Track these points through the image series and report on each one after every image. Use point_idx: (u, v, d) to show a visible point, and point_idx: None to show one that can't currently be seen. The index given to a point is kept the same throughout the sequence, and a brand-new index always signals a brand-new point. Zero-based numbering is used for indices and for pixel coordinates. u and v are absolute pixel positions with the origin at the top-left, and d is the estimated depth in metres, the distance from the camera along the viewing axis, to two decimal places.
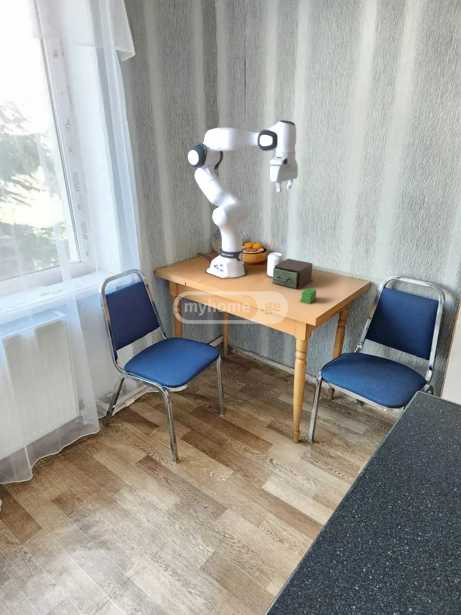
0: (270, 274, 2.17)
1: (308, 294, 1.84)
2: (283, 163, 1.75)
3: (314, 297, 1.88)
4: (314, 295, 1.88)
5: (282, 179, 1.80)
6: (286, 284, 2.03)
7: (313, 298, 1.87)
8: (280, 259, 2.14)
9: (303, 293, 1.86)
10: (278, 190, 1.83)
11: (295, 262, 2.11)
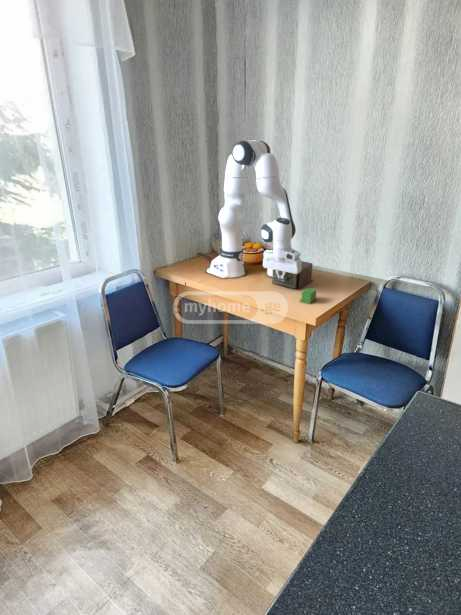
0: (270, 274, 2.17)
1: (308, 294, 1.84)
2: None
3: (314, 297, 1.88)
4: (314, 295, 1.88)
5: None
6: (285, 284, 2.03)
7: (313, 298, 1.87)
8: None
9: (303, 293, 1.86)
10: (283, 277, 1.98)
11: None
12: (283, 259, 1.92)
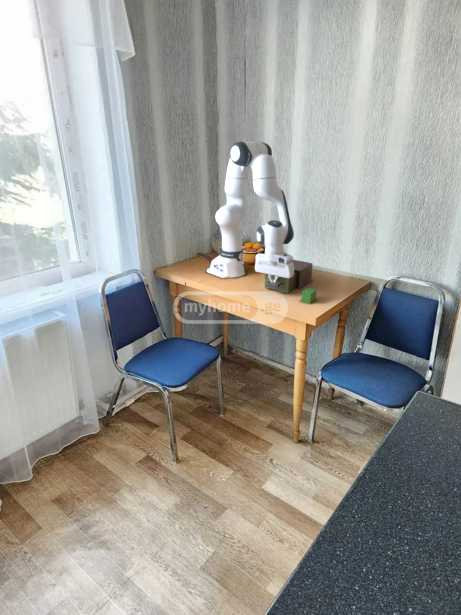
0: None
1: (308, 294, 1.84)
2: None
3: (314, 297, 1.88)
4: (314, 295, 1.88)
5: None
6: (278, 289, 1.97)
7: (313, 298, 1.87)
8: None
9: (303, 293, 1.86)
10: (276, 282, 1.93)
11: (295, 262, 2.11)
12: (275, 263, 1.86)
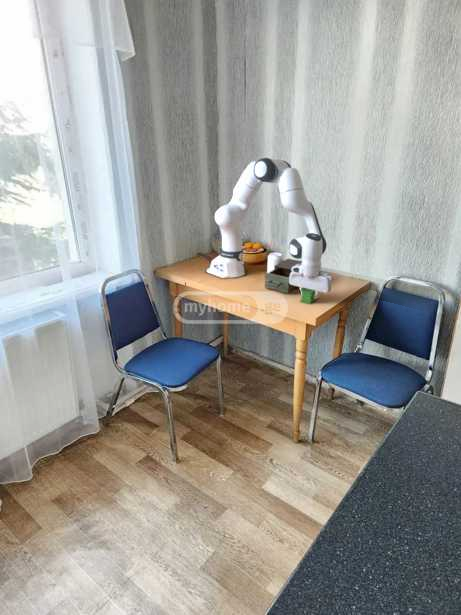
0: None
1: (308, 294, 1.84)
2: (293, 270, 1.84)
3: None
4: None
5: (297, 284, 1.87)
6: (278, 289, 1.97)
7: None
8: (280, 259, 2.14)
9: (303, 293, 1.86)
10: None
11: (295, 262, 2.11)
12: None
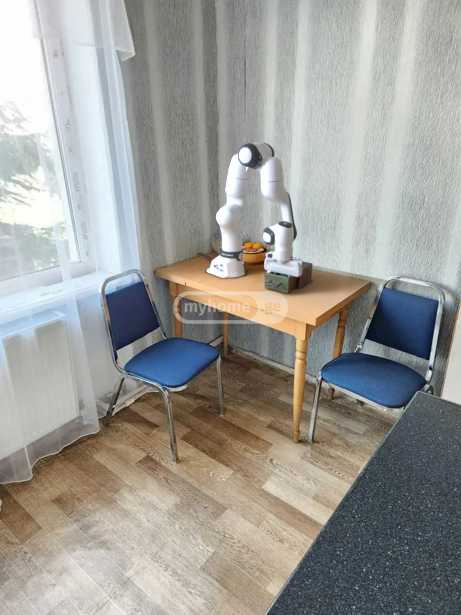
0: None
1: None
2: (267, 256, 1.98)
3: None
4: None
5: (272, 269, 2.01)
6: (278, 289, 1.97)
7: None
8: None
9: None
10: None
11: None
12: None
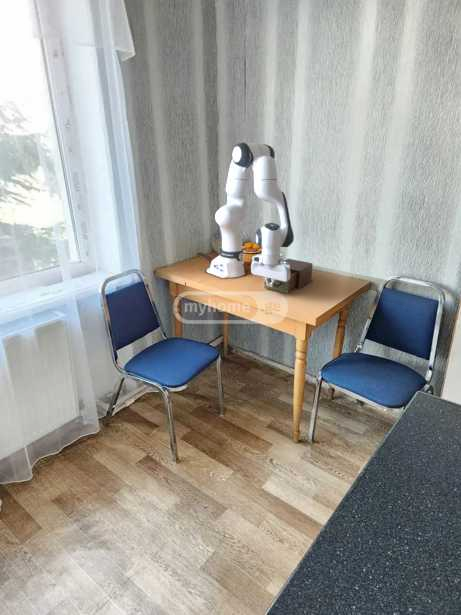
0: None
1: None
2: (254, 259, 1.89)
3: None
4: None
5: (259, 274, 1.91)
6: (278, 289, 1.97)
7: None
8: (280, 259, 2.14)
9: None
10: None
11: (295, 262, 2.11)
12: None
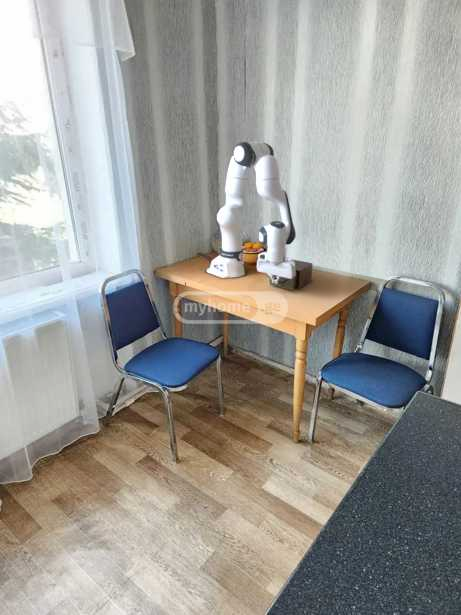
0: None
1: None
2: (259, 257, 1.92)
3: None
4: None
5: (264, 271, 1.95)
6: (283, 286, 2.01)
7: None
8: None
9: None
10: None
11: (295, 262, 2.11)
12: None
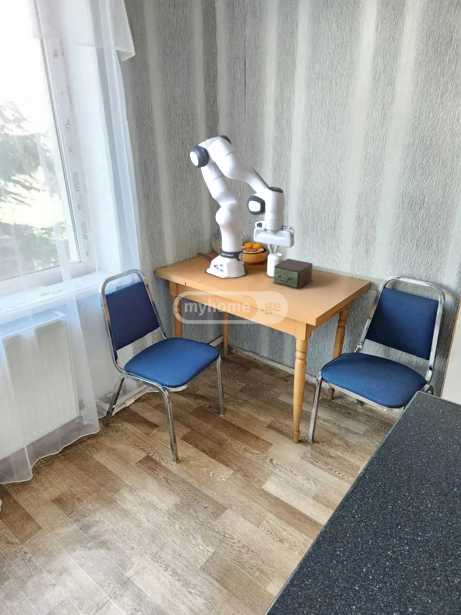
0: (270, 274, 2.17)
1: None
2: (256, 225, 1.83)
3: None
4: None
5: (261, 240, 1.86)
6: (287, 283, 2.04)
7: None
8: (280, 259, 2.14)
9: None
10: None
11: (295, 262, 2.11)
12: None
